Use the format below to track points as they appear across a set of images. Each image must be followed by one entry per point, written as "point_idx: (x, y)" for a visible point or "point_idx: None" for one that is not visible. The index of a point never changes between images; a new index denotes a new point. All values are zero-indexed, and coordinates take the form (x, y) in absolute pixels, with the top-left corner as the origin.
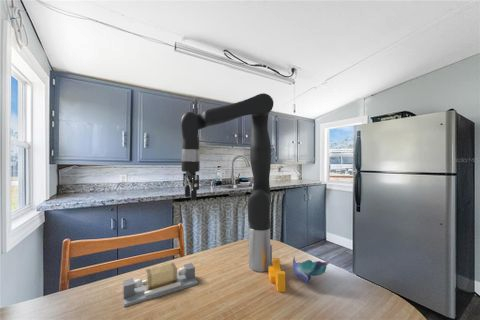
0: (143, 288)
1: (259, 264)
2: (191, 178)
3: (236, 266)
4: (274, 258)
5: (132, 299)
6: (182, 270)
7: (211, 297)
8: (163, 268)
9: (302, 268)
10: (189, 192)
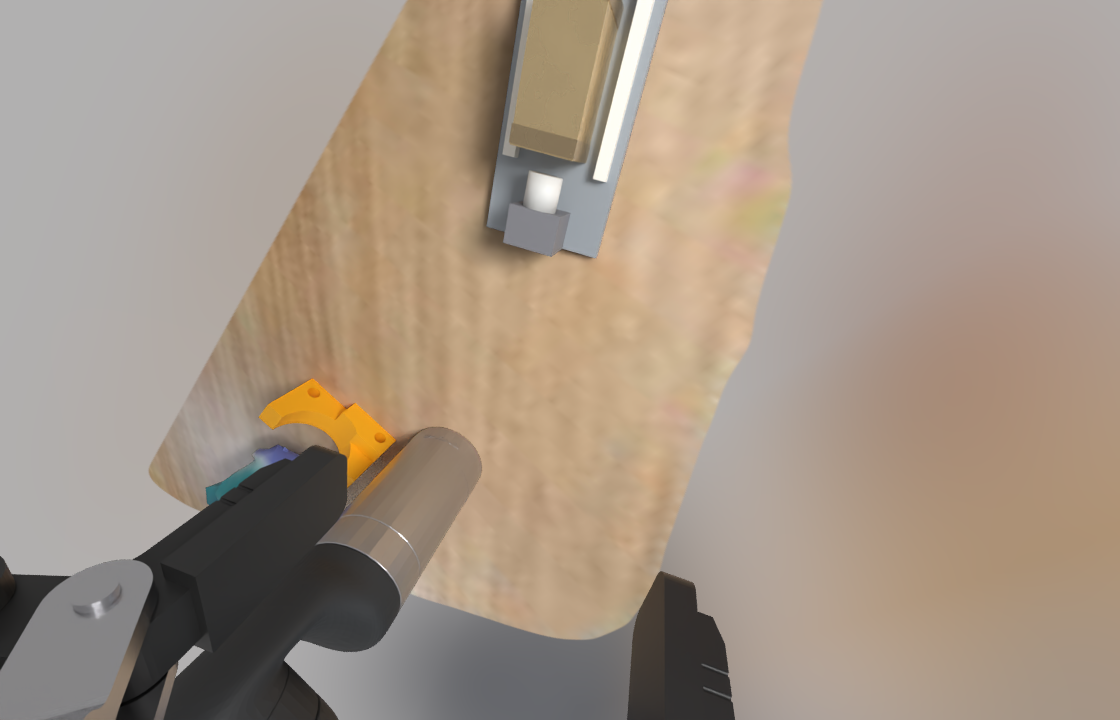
0: None
1: (405, 446)
2: None
3: (496, 412)
4: (349, 481)
5: None
6: (527, 184)
7: (393, 213)
8: (559, 80)
9: (252, 469)
10: (632, 701)
